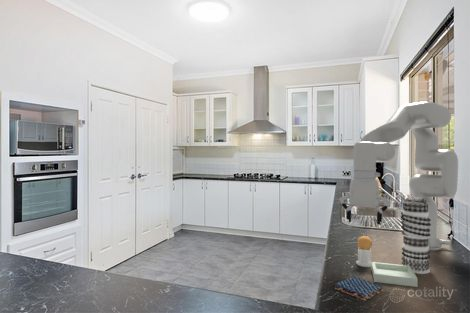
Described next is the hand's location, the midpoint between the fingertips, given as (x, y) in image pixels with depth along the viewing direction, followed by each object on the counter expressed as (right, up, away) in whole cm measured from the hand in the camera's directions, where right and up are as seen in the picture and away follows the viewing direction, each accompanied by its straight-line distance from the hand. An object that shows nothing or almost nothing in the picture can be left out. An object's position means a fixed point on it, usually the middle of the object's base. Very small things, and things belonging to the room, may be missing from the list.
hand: (363, 222), depth 115 cm
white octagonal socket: (0, -15, 0) cm, 15 cm away
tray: (+5, -15, -12) cm, 20 cm away
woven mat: (-10, -16, -21) cm, 29 cm away
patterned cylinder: (+16, -16, -5) cm, 23 cm away
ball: (0, -10, 0) cm, 10 cm away
